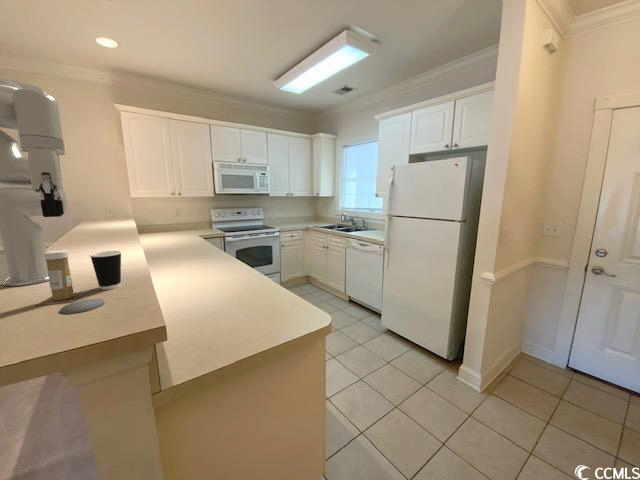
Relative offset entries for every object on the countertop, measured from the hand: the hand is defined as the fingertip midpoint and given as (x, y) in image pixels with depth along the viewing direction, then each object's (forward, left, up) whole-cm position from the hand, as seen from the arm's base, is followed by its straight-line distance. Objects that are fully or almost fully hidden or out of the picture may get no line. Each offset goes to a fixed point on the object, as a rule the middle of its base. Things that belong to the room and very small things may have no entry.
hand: (54, 215), depth 67 cm
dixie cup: (-12, +5, -24) cm, 27 cm away
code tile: (-4, -3, -24) cm, 24 cm away
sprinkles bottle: (-4, -3, -24) cm, 24 cm away
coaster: (+5, +6, -24) cm, 25 cm away
